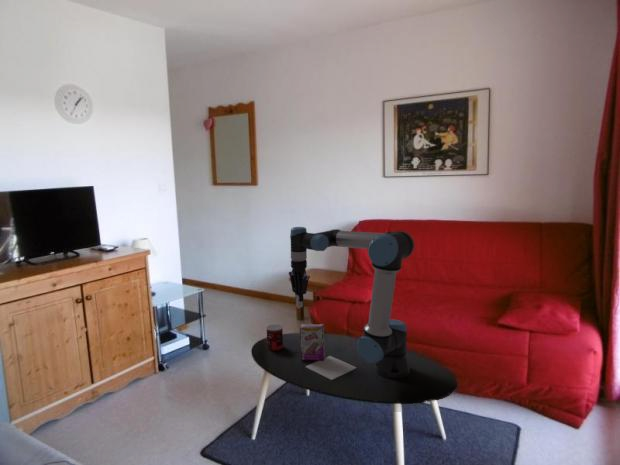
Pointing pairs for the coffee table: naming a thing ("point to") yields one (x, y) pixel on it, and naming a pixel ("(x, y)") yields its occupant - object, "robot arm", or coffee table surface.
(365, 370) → the coffee table surface
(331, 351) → the coffee table surface
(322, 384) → the coffee table surface
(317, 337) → the candy bar box
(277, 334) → the canned food
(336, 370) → the mat
